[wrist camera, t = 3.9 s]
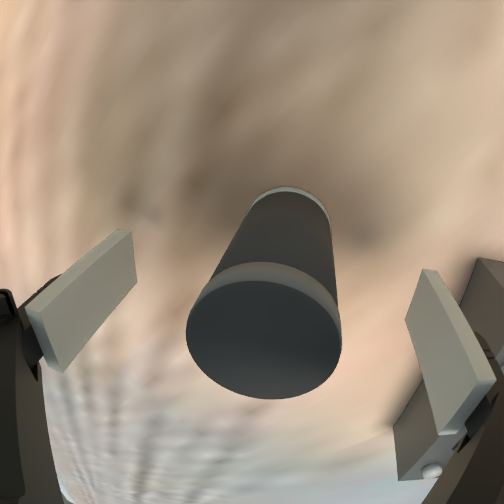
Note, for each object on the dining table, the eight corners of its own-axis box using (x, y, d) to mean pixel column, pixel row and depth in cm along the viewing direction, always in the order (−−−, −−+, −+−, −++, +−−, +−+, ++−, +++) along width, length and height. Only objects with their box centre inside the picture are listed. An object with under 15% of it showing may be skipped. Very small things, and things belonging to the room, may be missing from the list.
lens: (247, 181, 18) (179, 270, 9) (337, 192, 17) (359, 296, 8) (243, 260, 20) (189, 385, 11) (323, 271, 19) (323, 407, 10)
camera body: (478, 257, 17) (541, 342, 9) (571, 275, 15) (626, 338, 8) (393, 427, 25) (399, 504, 17) (481, 423, 24) (498, 487, 16)
